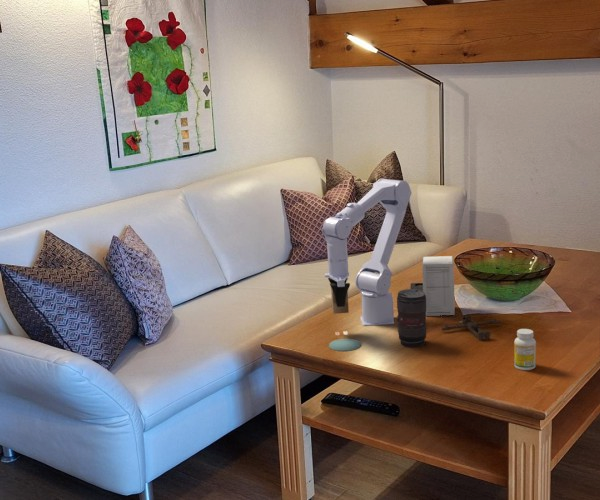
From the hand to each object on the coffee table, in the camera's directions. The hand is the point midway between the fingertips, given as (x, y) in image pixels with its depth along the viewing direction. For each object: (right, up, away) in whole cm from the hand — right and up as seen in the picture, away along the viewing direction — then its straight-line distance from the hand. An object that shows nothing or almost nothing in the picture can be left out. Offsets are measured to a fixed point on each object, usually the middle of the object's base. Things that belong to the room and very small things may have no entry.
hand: (340, 303), depth 241 cm
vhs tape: (+29, +1, +36) cm, 47 cm away
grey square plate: (+1, -9, +2) cm, 9 cm away
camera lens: (+20, -11, -9) cm, 24 cm away
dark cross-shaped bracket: (+39, -9, -2) cm, 40 cm away
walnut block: (0, -2, +1) cm, 2 cm away
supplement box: (+32, -4, +17) cm, 36 cm away
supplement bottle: (+46, -14, -29) cm, 56 cm away
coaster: (+1, -11, -7) cm, 14 cm away
